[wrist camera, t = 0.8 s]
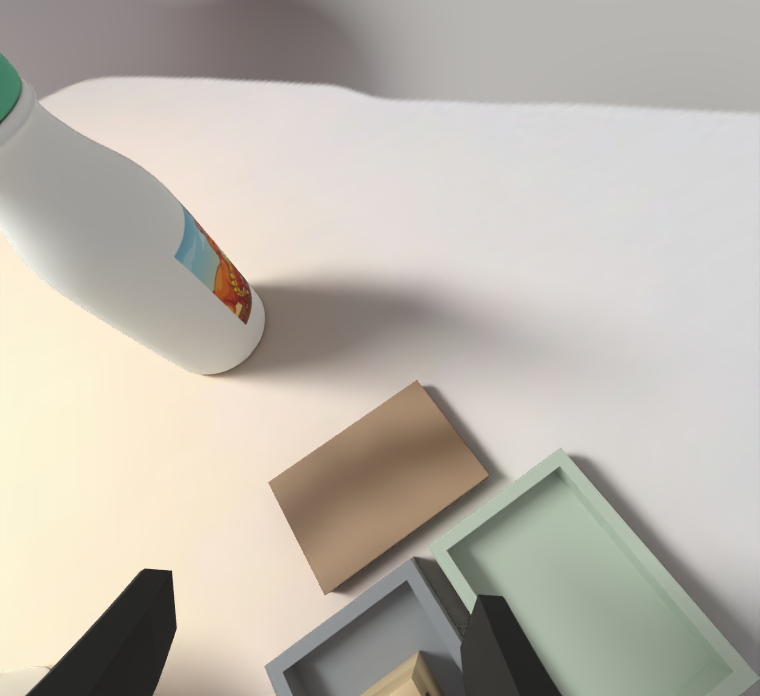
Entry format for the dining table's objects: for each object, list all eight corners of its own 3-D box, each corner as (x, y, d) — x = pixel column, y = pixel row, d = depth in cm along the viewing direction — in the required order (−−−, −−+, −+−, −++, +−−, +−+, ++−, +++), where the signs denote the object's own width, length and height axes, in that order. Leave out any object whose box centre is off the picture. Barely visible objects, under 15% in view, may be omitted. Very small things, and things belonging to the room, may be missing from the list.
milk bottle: (255, 380, 30) (-53, 147, 12) (158, 374, 31) (-251, 158, 13) (278, 286, 33) (59, -20, 14) (188, 284, 34) (-112, 5, 16)
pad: (487, 477, 25) (489, 475, 24) (330, 592, 24) (324, 595, 23) (418, 385, 28) (416, 380, 27) (275, 484, 27) (268, 482, 26)
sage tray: (732, 664, 20) (760, 678, 18) (585, 789, 19) (599, 816, 17) (552, 453, 25) (560, 447, 23) (429, 544, 24) (427, 546, 22)
